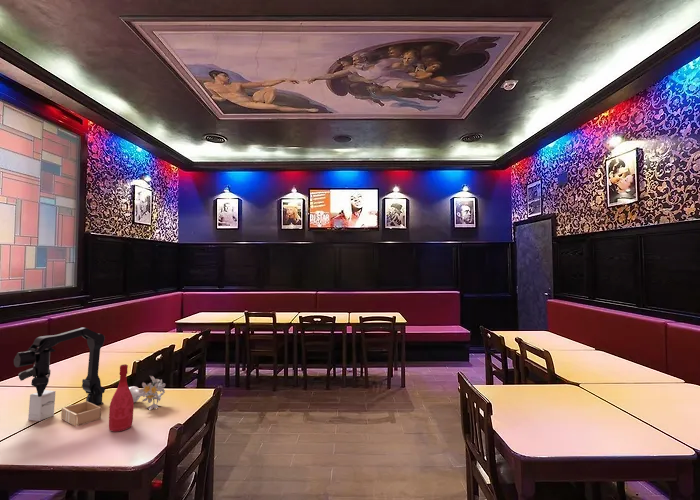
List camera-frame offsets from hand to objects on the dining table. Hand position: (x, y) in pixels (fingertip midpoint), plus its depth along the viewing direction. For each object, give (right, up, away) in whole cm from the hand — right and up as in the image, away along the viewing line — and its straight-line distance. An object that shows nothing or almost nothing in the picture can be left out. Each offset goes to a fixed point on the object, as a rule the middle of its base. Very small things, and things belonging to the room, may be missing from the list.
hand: (40, 394), depth 175 cm
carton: (+17, -14, +5) cm, 23 cm away
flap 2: (+18, -14, -3) cm, 22 cm away
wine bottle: (+44, -14, -6) cm, 46 cm away
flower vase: (+38, -16, +22) cm, 47 cm away
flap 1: (+11, -14, +2) cm, 17 cm away
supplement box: (-4, -14, +5) cm, 15 cm away
